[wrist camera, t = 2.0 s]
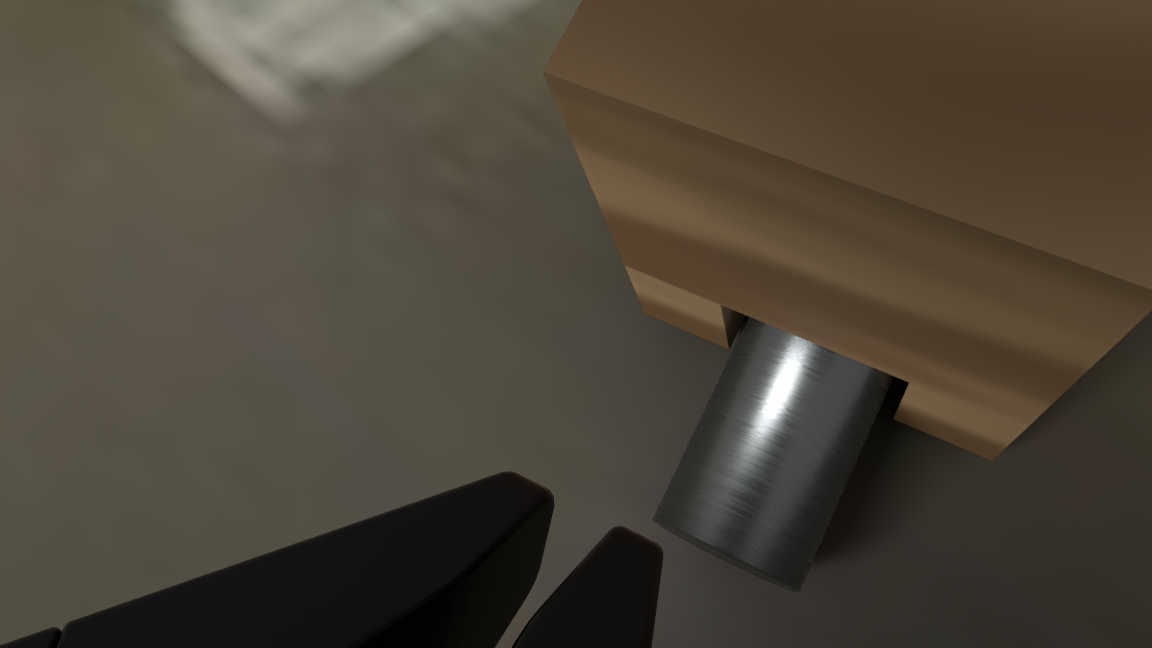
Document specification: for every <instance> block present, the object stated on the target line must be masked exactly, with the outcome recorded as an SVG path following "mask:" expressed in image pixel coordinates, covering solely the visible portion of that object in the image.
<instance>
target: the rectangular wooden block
mask: <svg viewBox="0 0 1152 648" xmlns="http://www.w3.org/2000/svg"><path fill="white" fill-rule="evenodd" d="M543 73H544V76H545V78H546V80H547V83H548V85H549V87H550V90H551V92H552V94H553V97H554V99H555V102H556V104H557V106H558V109H559V111H560V113H561V116H562V118H563V121H564V123H565V125H566V128H567V130H568V132H569V135H570V137H571V140H572V142H573V144H574V147H575V149H576V151H577V154H578V156H579V159H580V161H581V163H582V166H583V168H584V170H585V173H586V175H587V178H588V180H589V182H590V185H591V187H592V189H593V192H594V194H595V197H596V199H597V201H598V204H599V206H600V208H601V211H602V213H603V216H604V218H605V220H606V223H607V225H608V227H609V230H610V232H611V235H612V237H613V239H614V242H615V244H616V246H617V249H618V251H619V254H620V256H621V258H622V261H623V263H624V265H625V268H626V270H627V273H628V275H629V277H630V280H631V282H632V284H633V287H634V289H635V292H636V294H637V296H638V299H639V301H640V303H641V306H642V308H643V311H644V313H645V314H647V315H649V316H651V317H654V318H656V319H659V320H661V321H663V322H666V323H668V324H670V325H673V326H675V327H677V328H680V329H682V330H684V331H687V332H689V333H692V334H694V335H696V336H699V337H701V338H703V339H706V340H708V341H710V342H713V343H715V344H717V345H720V346H722V347H724V348H727V349H730V347H731V344H732V342H733V340H734V338H735V336H736V334H737V332H738V330H739V328H740V326H741V323H742V321H743V319H744V317H745V315H746V316H749V317H751V318H754V319H756V320H759V321H761V322H763V323H766V324H768V325H771V326H773V327H776V328H778V329H781V330H783V331H785V332H788V333H790V334H793V335H795V336H798V337H800V338H802V339H805V340H807V341H810V342H812V343H815V344H817V345H819V346H822V347H824V348H827V349H829V350H832V351H834V352H836V353H839V354H841V355H844V356H846V357H849V358H851V359H853V360H856V361H858V362H861V363H863V364H866V365H868V366H870V367H873V368H875V369H878V370H880V371H883V372H885V373H887V374H890V375H892V376H895V377H897V378H900V379H902V380H904V381H907V382H909V384H908V386H907V389H906V391H905V393H904V395H903V398H902V400H901V402H900V405H899V407H898V409H897V411H896V414H895V416H894V418H893V419H894V420H896V421H899V422H901V423H904V424H906V425H908V426H911V427H913V428H915V429H918V430H920V431H922V432H925V433H927V434H929V435H932V436H934V437H937V438H939V439H941V440H944V441H946V442H948V443H951V444H953V445H955V446H958V447H960V448H962V449H965V450H967V451H969V452H972V453H974V454H977V455H979V456H981V457H984V458H986V459H988V460H991V461H992V460H994V459H995V458H996V457H997V456H998V455H999V454H1000V453H1001V452H1002V451H1003V450H1004V449H1005V448H1006V447H1007V446H1008V445H1009V444H1010V443H1012V442H1013V441H1014V440H1015V439H1016V438H1017V437H1018V436H1019V435H1020V434H1021V433H1022V432H1023V431H1024V430H1025V429H1026V428H1027V427H1029V426H1030V425H1031V424H1032V423H1033V422H1034V421H1035V420H1036V419H1037V418H1038V417H1039V416H1040V415H1041V414H1042V413H1043V412H1044V411H1045V410H1047V409H1048V408H1049V407H1050V406H1051V405H1052V404H1053V403H1054V402H1055V401H1056V400H1057V399H1058V398H1059V397H1060V396H1061V395H1062V394H1064V393H1065V392H1066V391H1067V390H1068V389H1069V388H1070V387H1071V386H1072V385H1073V384H1074V383H1075V382H1076V381H1077V380H1078V379H1079V378H1081V377H1082V376H1083V375H1084V374H1085V373H1086V372H1087V371H1088V370H1089V369H1090V368H1091V367H1092V366H1093V365H1094V364H1095V363H1096V362H1097V361H1099V360H1100V359H1101V358H1102V357H1103V356H1104V355H1105V354H1106V353H1107V352H1108V351H1109V350H1110V349H1111V348H1112V347H1113V346H1114V345H1116V344H1117V343H1118V342H1119V341H1120V340H1121V339H1122V338H1123V337H1124V336H1125V335H1126V334H1127V333H1128V332H1129V331H1130V330H1131V329H1132V328H1134V327H1135V326H1136V325H1137V324H1138V323H1139V322H1140V321H1141V320H1142V319H1143V318H1144V317H1145V316H1146V315H1147V314H1148V313H1149V312H1151V311H1152V0H582V2H581V4H580V5H579V7H578V9H577V11H576V13H575V15H574V16H573V18H572V20H571V22H570V24H569V26H568V27H567V29H566V31H565V33H564V35H563V37H562V38H561V40H560V42H559V44H558V46H557V47H556V49H555V51H554V53H553V55H552V57H551V58H550V60H549V62H548V64H547V66H546V68H545V69H544V71H543Z"/></svg>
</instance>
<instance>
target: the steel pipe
mask: <svg viewBox="0 0 1152 648" xmlns="http://www.w3.org/2000/svg"><path fill="white" fill-rule="evenodd" d="M893 378H894V376H892V375H890V374H887V373H885V372H883V371H880V370H878V369H875V368H873V367H870V366H868V365H866V364H863V363H861V362H858V361H856V360H853V359H851V358H849V357H846V356H844V355H841V354H839V353H836V352H834V351H832V350H829V349H827V348H824V347H822V346H819V345H817V344H815V343H812V342H810V341H807V340H805V339H802V338H800V337H798V336H795V335H793V334H790V333H788V332H785V331H783V330H781V329H778V328H776V327H773V326H771V325H768V324H766V323H763V322H761V321H759V320H756V319H754V318H751V317H749V318H748V320H747V322H746V324H745V326H744V329H743V331H742V333H741V335H740V337H739V339H738V341H737V343H736V345H735V347H734V350H733V352H732V354H731V356H730V358H729V360H728V362H727V364H726V366H725V368H724V371H723V373H722V375H721V377H720V379H719V381H718V383H717V385H716V387H715V389H714V392H713V394H712V396H711V398H710V400H709V402H708V404H707V406H706V408H705V410H704V413H703V415H702V417H701V419H700V421H699V423H698V425H697V427H696V429H695V431H694V434H693V436H692V438H691V440H690V442H689V444H688V446H687V448H686V450H685V452H684V455H683V457H682V459H681V461H680V463H679V465H678V467H677V469H676V471H675V473H674V476H673V478H672V480H671V482H670V484H669V486H668V488H667V490H666V492H665V494H664V497H663V499H662V501H661V503H660V505H659V507H658V509H657V511H656V513H655V515H654V518H653V521H654V522H655V523H656V524H658V525H659V526H661V527H663V528H664V529H666V530H668V531H669V532H671V533H673V534H675V535H677V536H678V537H680V538H682V539H684V540H686V541H688V542H689V543H691V544H693V545H695V546H697V547H699V548H701V549H703V550H705V551H707V552H709V553H711V554H713V555H715V556H717V557H719V558H721V559H723V560H725V561H727V562H729V563H731V564H733V565H735V566H737V567H739V568H741V569H743V570H745V571H747V572H749V573H752V574H754V575H756V576H758V577H760V578H762V579H764V580H767V581H769V582H771V583H773V584H776V585H778V586H780V587H783V588H785V589H788V590H790V591H793V592H797V593H799V591H800V589H801V587H802V584H803V582H804V580H805V578H806V575H807V573H808V571H809V568H810V566H811V564H812V562H813V559H814V557H815V555H816V553H817V550H818V548H819V546H820V543H821V541H822V539H823V537H824V534H825V532H826V530H827V528H828V525H829V523H830V521H831V519H832V516H833V514H834V512H835V509H836V507H837V505H838V503H839V500H840V498H841V496H842V494H843V491H844V489H845V487H846V484H847V482H848V480H849V478H850V475H851V473H852V471H853V469H854V466H855V464H856V462H857V460H858V457H859V455H860V453H861V450H862V448H863V446H864V444H865V441H866V439H867V437H868V435H869V432H870V430H871V428H872V425H873V423H874V421H875V419H876V416H877V414H878V412H879V410H880V407H881V405H882V403H883V401H884V398H885V396H886V394H887V391H888V389H889V387H890V385H891V382H892V380H893Z"/></svg>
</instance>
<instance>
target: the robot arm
mask: <svg viewBox="0 0 1152 648" xmlns="http://www.w3.org/2000/svg"><path fill="white" fill-rule="evenodd" d="M553 510H554V496H553V494H552V493H551V492H550V490H548V489H547V488H545V487H543V486H541V485H539V484H537V483H535V482H533V481H531V480H529V479H527V478H525V477H523V476H521V475H519V474H517V473H514V472H502V473H498V474H495V475H492V476H489V477H487V478H484V479H481V480H478V481H475V482H472V483H469V484H466V485H463V486H461V487H458V488H455V489H452V490H449V491H446V492H443V493H440V494H437V495H435V496H432V497H429V498H426V499H423V500H420V501H417V502H414V503H411V504H409V505H406V506H403V507H400V508H397V509H394V510H391V511H388V512H385V513H383V514H380V515H377V516H374V517H371V518H368V519H365V520H362V521H359V522H357V523H354V524H351V525H348V526H345V527H342V528H339V529H336V530H333V531H331V532H328V533H325V534H322V535H319V536H316V537H313V538H310V539H307V540H305V541H302V542H299V543H296V544H293V545H290V546H287V547H284V548H281V549H279V550H276V551H273V552H270V553H267V554H264V555H261V556H258V557H255V558H253V559H250V560H247V561H244V562H241V563H238V564H235V565H232V566H229V567H227V568H224V569H221V570H218V571H215V572H212V573H209V574H206V575H203V576H201V577H198V578H195V579H192V580H189V581H186V582H183V583H180V584H177V585H175V586H172V587H169V588H166V589H163V590H160V591H157V592H154V593H151V594H149V595H146V596H143V597H140V598H137V599H134V600H131V601H128V602H125V603H123V604H120V605H117V606H114V607H111V608H108V609H105V610H102V611H99V612H97V613H94V614H91V615H88V616H85V617H82V618H79V619H76V620H73V621H71V622H69V623H67V624H66V625H65V627H64V628H63V630H62V632H61V630H60V629H59V628H56V627H52V628H49V629H46V630H43V631H40V632H38V633H35V634H32V635H29V636H26V637H23V638H20V639H17V640H14V641H11V642H9V643H6V644H3V645H0V648H495V646H496V645H497V643H498V642H499V640H500V639H501V637H502V635H503V634H504V632H505V631H506V629H507V628H508V626H509V624H510V623H511V621H512V620H513V618H514V617H515V615H516V613H517V612H518V610H519V609H520V607H521V605H522V604H523V602H524V601H525V599H526V598H527V596H528V594H529V592H530V590H531V589H532V587H533V585H534V582H535V580H536V578H537V575H538V572H539V569H540V566H541V562H542V557H543V553H544V549H545V544H546V540H547V536H548V532H549V527H550V523H551V519H552V514H553ZM662 563H663V550H662V548H661V546H660V545H659V544H657V543H655V542H653V541H651V540H649V539H647V538H645V537H643V536H641V535H639V534H637V533H635V532H633V531H631V530H629V529H627V528H625V527H622V526H618V527H614V528H612V529H611V530H610V531H609V532H608V533H607V534H606V535H605V536H604V537H603V538H602V539H601V540H600V541H599V543H598V544H597V545H596V546H595V547H594V548H593V549H592V550H591V551H590V553H589V554H588V555H587V556H586V557H585V558H584V559H583V560H582V561H581V562H580V564H579V565H578V566H577V567H576V568H575V569H574V570H573V571H572V572H571V574H570V575H569V576H568V577H567V578H566V579H565V580H564V581H563V582H562V584H561V585H560V586H559V587H558V588H557V589H556V590H555V591H554V592H553V594H552V595H551V596H550V597H549V598H548V599H547V600H546V601H545V602H544V604H543V605H542V606H541V607H540V608H539V610H538V611H537V612H536V613H535V614H534V616H533V617H532V618H531V619H530V620H529V622H528V623H527V625H526V626H525V628H524V629H523V631H522V632H521V634H520V635H519V637H518V638H517V640H516V641H515V643H514V645H513V646H512V648H651V647H652V639H653V631H654V624H655V616H656V609H657V601H658V593H659V586H660V578H661V571H662Z"/></svg>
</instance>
